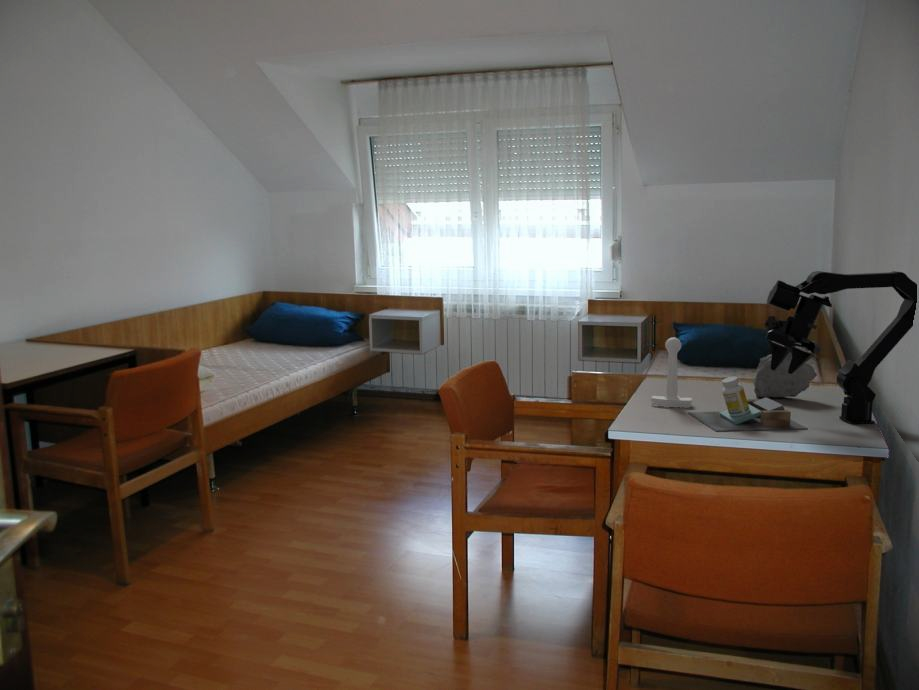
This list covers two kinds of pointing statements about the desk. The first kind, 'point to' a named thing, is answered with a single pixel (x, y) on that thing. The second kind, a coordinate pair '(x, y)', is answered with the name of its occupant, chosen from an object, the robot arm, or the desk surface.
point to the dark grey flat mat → (750, 421)
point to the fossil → (781, 378)
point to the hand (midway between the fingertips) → (781, 371)
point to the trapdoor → (753, 410)
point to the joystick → (672, 379)
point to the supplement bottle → (735, 397)
